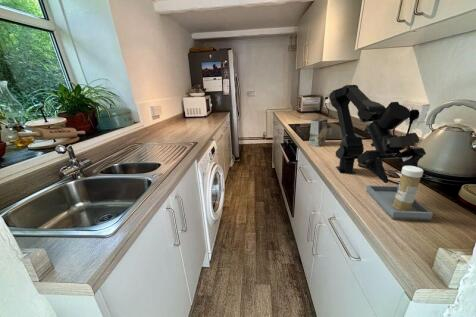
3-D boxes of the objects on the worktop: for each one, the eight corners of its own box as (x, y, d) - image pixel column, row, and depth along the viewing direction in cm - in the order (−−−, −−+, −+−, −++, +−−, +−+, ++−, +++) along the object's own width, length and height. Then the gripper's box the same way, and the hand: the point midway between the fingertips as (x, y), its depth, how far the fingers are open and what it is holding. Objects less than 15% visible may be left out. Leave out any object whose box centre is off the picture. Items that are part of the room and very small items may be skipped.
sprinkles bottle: (389, 203, 63) (399, 164, 59) (405, 204, 62) (417, 165, 58) (396, 212, 59) (408, 171, 54) (414, 213, 58) (427, 171, 53)
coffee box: (317, 146, 124) (320, 121, 119) (308, 144, 129) (310, 120, 123) (325, 143, 130) (327, 119, 124) (316, 142, 134) (318, 118, 129)
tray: (366, 191, 72) (367, 185, 71) (396, 192, 71) (397, 186, 70) (391, 219, 57) (393, 211, 57) (430, 220, 56) (433, 213, 55)
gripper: (370, 125, 59) (391, 174, 52) (429, 121, 60) (457, 170, 53) (350, 143, 69) (365, 186, 62) (401, 140, 70) (421, 182, 64)
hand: (401, 181), depth 60 cm, fingers open, 9 cm apart
